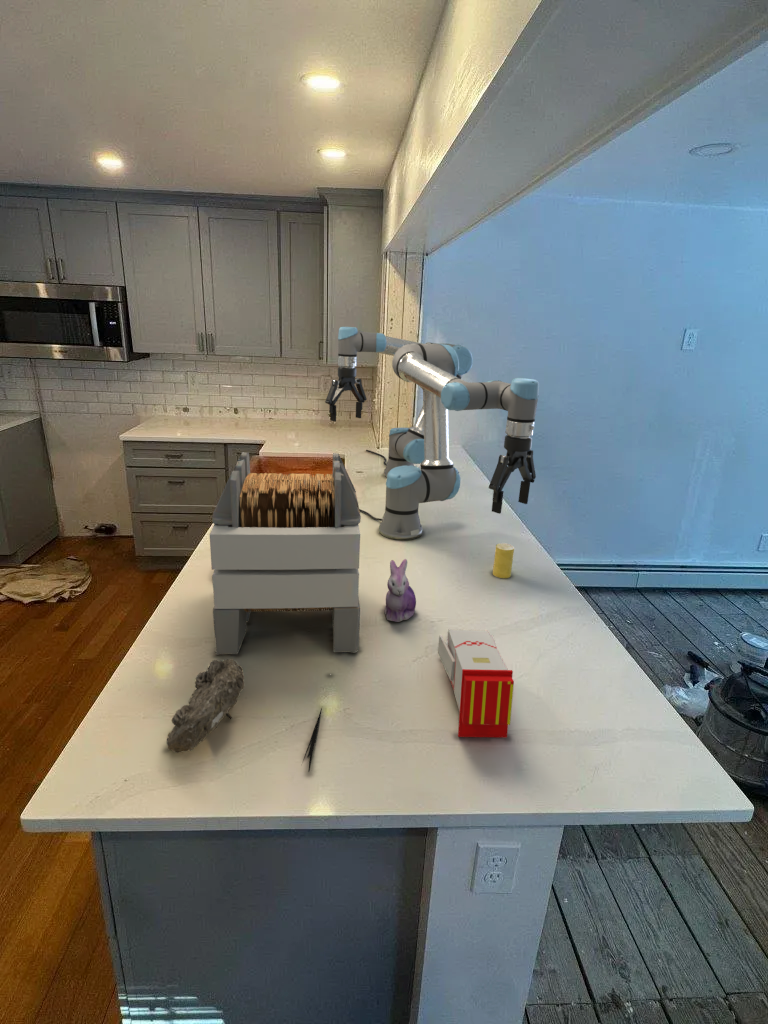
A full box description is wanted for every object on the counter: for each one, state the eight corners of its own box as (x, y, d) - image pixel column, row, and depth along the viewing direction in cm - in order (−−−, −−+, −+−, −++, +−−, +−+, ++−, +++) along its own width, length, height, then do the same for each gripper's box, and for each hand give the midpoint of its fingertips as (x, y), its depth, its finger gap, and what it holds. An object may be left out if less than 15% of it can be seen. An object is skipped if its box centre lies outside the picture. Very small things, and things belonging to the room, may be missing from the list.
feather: (331, 679, 122) (336, 673, 122) (307, 777, 96) (313, 769, 95) (324, 675, 122) (329, 669, 121) (298, 772, 95) (304, 764, 95)
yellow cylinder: (488, 573, 173) (492, 545, 170) (500, 569, 176) (503, 541, 173) (503, 580, 169) (506, 551, 166) (514, 575, 172) (518, 547, 169)
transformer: (234, 586, 158) (226, 442, 144) (351, 584, 161) (355, 445, 148) (213, 657, 126) (200, 481, 112) (359, 653, 130) (365, 483, 116)
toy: (488, 613, 130) (523, 677, 101) (484, 667, 133) (517, 744, 104) (435, 612, 130) (455, 676, 101) (432, 666, 133) (451, 743, 103)
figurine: (392, 627, 141) (395, 572, 136) (374, 608, 149) (376, 556, 144) (425, 619, 145) (429, 566, 140) (405, 601, 154) (408, 550, 149)
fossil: (192, 660, 117) (244, 628, 112) (224, 691, 120) (276, 661, 115) (142, 746, 98) (202, 712, 93) (182, 779, 101) (242, 748, 96)
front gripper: (504, 443, 147) (495, 520, 154) (554, 432, 164) (543, 502, 171) (480, 438, 152) (473, 512, 159) (531, 428, 169) (522, 496, 176)
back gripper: (328, 369, 218) (328, 423, 225) (376, 366, 234) (374, 417, 242) (316, 367, 223) (316, 420, 230) (364, 365, 239) (362, 415, 247)
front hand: (509, 507), depth 165 cm, fingers open, 13 cm apart
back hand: (346, 419), depth 236 cm, fingers open, 13 cm apart
